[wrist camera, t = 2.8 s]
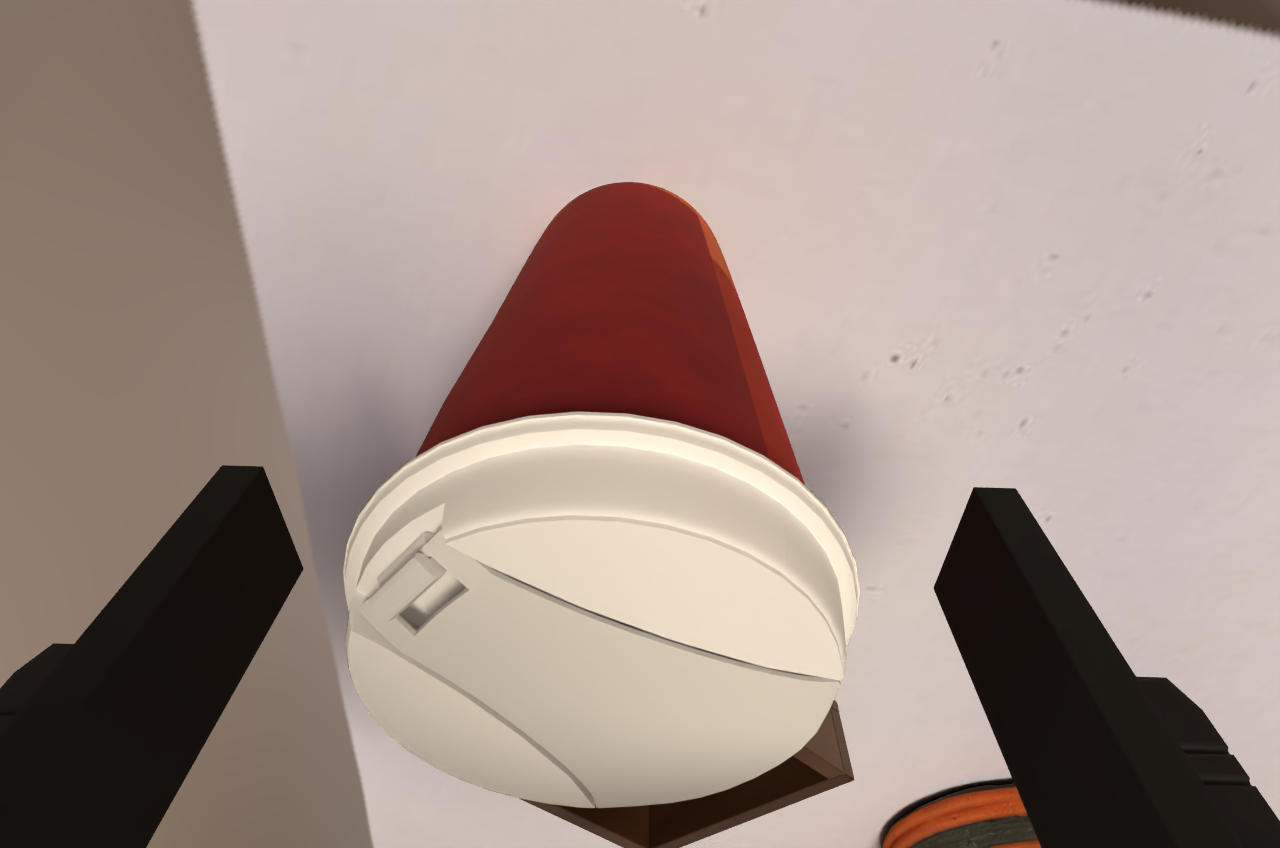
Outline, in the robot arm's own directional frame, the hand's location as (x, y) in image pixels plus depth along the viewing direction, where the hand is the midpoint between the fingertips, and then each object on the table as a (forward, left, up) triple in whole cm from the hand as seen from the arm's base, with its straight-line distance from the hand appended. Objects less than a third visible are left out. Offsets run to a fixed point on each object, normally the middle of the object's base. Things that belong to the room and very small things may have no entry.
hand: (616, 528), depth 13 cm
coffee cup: (0, 0, -12) cm, 12 cm away
